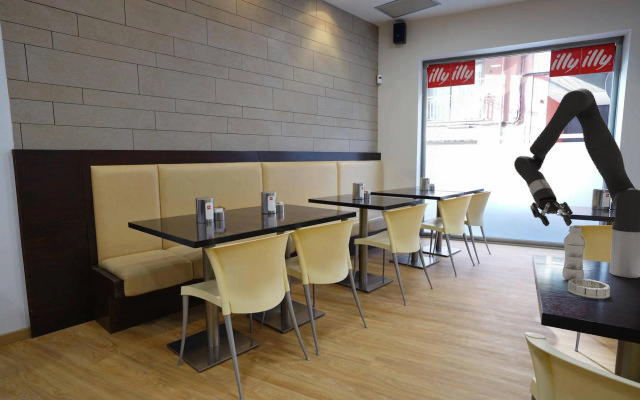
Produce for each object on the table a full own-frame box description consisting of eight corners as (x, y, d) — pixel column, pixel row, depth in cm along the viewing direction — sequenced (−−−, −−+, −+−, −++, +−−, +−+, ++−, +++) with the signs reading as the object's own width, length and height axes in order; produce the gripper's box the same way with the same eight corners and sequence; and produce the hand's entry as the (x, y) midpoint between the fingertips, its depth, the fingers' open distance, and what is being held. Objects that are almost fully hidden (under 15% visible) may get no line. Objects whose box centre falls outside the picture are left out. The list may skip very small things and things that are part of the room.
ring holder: (577, 284, 133) (578, 276, 133) (616, 294, 124) (616, 285, 123) (561, 290, 127) (561, 282, 127) (599, 301, 118) (600, 292, 117)
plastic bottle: (587, 284, 134) (590, 228, 132) (566, 283, 135) (569, 228, 133) (578, 278, 140) (581, 225, 138) (558, 277, 142) (561, 225, 140)
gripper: (528, 187, 152) (544, 219, 142) (563, 186, 153) (582, 218, 142) (521, 199, 158) (536, 230, 148) (554, 198, 158) (571, 230, 148)
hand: (558, 225), depth 145 cm, fingers open, 8 cm apart
